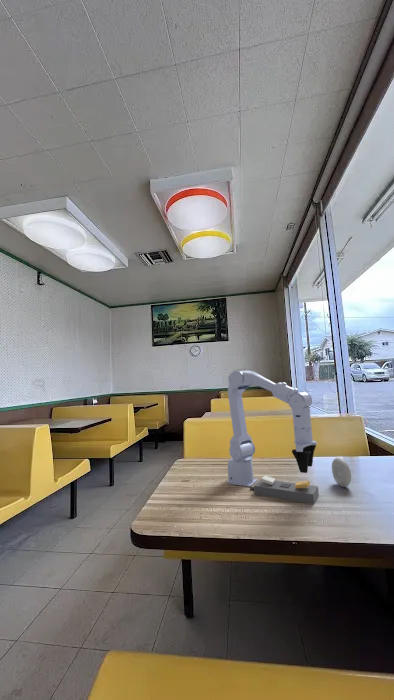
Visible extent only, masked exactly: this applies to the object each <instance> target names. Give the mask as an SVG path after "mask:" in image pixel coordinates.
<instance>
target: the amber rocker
mask: <svg viewBox="0 0 394 700" xmlns="http://www.w3.org/2000/svg"><path fill="white" fill-rule="evenodd" d="M310 482H311V481H310V480H303V481H297V482H295V483H296V484H295V487H296V488H306V487H308V486H309V485H311V483H310Z"/></svg>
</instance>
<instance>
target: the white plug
mask: <svg viewBox="0 0 394 700" xmlns="http://www.w3.org/2000/svg"><path fill="white" fill-rule="evenodd" d="M260 480H261V481H262V482H265V483H268V484H271V485H273V484H274V483H275V481H277V480H276V478H274V477H271V476H269V475H263V477H261V478H260Z"/></svg>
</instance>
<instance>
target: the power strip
mask: <svg viewBox="0 0 394 700" xmlns="http://www.w3.org/2000/svg"><path fill="white" fill-rule="evenodd" d="M296 483H297V482H290V481H289V482H288V481H283V480H282V481H281V480H276V481H275V483H274V484H273V485H271V484H268V483H265V482H262V481H261V479H259V480H258V481H256V482H255V483H254V484H253V486H250V487H249V489H250V490H251V491H253V493H254V494H253V495H255V496H261V497H266V498H267V497H268V498H273V499H278V500H279V499H280V500H285V501H292V502H298V503H304V504H310V505H315V504H316V502H317V499H319V496H320V494H319V493H320V492H319V486H318V485H313V484H310V485H309V486H308V487H306V488H296V487H295V484H296Z"/></svg>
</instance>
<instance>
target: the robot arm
mask: <svg viewBox="0 0 394 700" xmlns="http://www.w3.org/2000/svg"><path fill="white" fill-rule="evenodd" d="M227 378H228V379H227V380H228V387H227V395H228V396H227V397H228V404H229V405H228V406H229V411H230V418H231V426H232V433H233V435H232V436H231V439H230V440H229V449H228V450H229V451H228V452H229V456H230V457H231V458H229V460H228V463H227V476H228V477H227V479H228V480H227V484H228V485H229V484H231V485H236V486H242V487H243V486H244V487H249V488H250V487H253V486H254V485H255V484H256V483H257V482H258V479H257V478H254V469H253V468H254V467H253V466H254V465H253V458H254V457H253V455H254V454H255V453H256V447H255V444H254V442H253V439H252V436H251V435H250V434H249V433H248V429H247V423H246V416H245V415H246V414H245V410H244V408H245V407H244V402H243V393H244V392H245V391H246V389H248V388H249V387H251V386H253V385H256V386H259V387H260V388H262V389H264V390H267V391H269V392H271V393H272V397H274V398H276V399H279V400H280V401H282V402H283V403H286V404H287V405H288V406H289V407H290V409H291V411H292V421H293V422H292V424H293V433H294V445H295V449H294V448H293V449H292V450H291V453H292V455H293V457H294V458H295V460H296V464H297V466H298V470H299V472H300V473H305V474H307V473H308V471H309V470H308V468H309V467H312V466H313V462H314V453H315V451H316V447H317V440H314V439H313V431H312V430H313V429H312V428H313V427H312V419H311V416H312V415H311V406H312V403H313V399H312V396H311V395H310V394H309V393H308V392H307V391H305V390H304V391H303V390H302V391H299V389H298V388H293V387H291V386H289V385H288V384H287V383H286V382H284V381H283V382H277V383H275V382H274V381H271V380H270V379H268V378H266V377H264V376H263V375H261V374H259V373H258V372H256V371H253V370H250V369H247V370H246V369H245V370H233V371H232V372H231V373H230V374H229V375H228V377H227Z"/></svg>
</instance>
